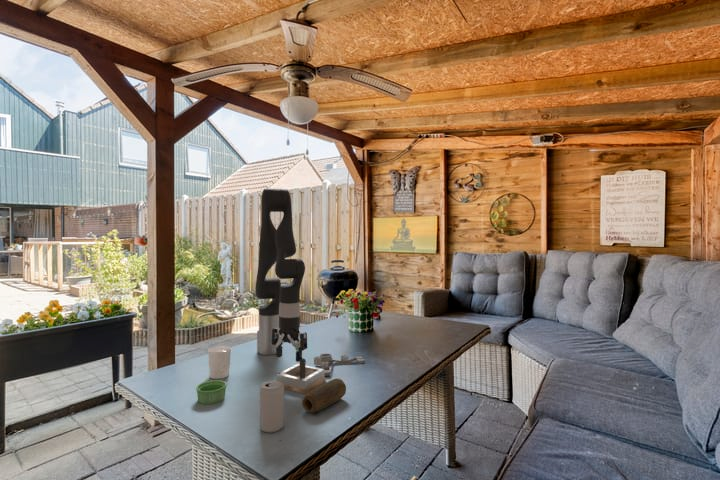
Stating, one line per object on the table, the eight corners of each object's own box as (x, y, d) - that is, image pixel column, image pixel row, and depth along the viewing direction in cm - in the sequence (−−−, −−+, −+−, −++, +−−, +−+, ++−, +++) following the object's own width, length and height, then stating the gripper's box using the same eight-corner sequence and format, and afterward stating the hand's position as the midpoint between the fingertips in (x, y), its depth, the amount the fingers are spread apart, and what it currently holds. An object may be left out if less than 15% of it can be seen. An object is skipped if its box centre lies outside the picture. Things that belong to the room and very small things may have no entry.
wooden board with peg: (278, 386, 127) (278, 360, 127) (298, 375, 138) (299, 351, 138) (306, 393, 122) (306, 366, 121) (326, 381, 132) (326, 356, 132)
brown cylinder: (330, 394, 122) (330, 374, 122) (347, 399, 118) (347, 378, 118) (299, 412, 109) (299, 390, 109) (317, 418, 105) (318, 395, 105)
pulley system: (295, 372, 143) (322, 380, 133) (295, 360, 143) (322, 367, 133) (343, 357, 164) (369, 363, 154) (342, 347, 164) (369, 352, 154)
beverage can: (262, 422, 103) (262, 379, 103) (285, 421, 104) (285, 379, 103) (257, 434, 97) (257, 389, 97) (282, 433, 97) (282, 388, 97)
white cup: (235, 373, 139) (235, 347, 139) (221, 381, 132) (221, 353, 132) (218, 370, 142) (218, 344, 142) (203, 378, 135) (203, 350, 134)
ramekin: (232, 394, 121) (232, 381, 121) (215, 406, 112) (215, 392, 112) (208, 391, 123) (208, 378, 123) (189, 403, 114) (189, 389, 114)
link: (276, 383, 127) (276, 374, 127) (297, 371, 138) (297, 363, 138) (304, 389, 122) (304, 380, 122) (324, 377, 133) (324, 369, 133)
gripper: (267, 313, 132) (266, 358, 132) (299, 319, 125) (298, 366, 126) (280, 310, 138) (280, 352, 139) (311, 314, 132) (311, 359, 132)
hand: (288, 358), depth 132 cm, fingers open, 8 cm apart
